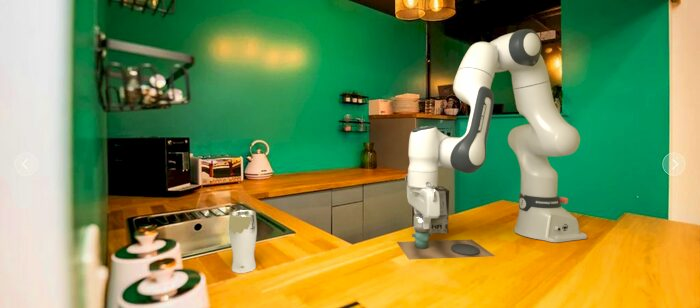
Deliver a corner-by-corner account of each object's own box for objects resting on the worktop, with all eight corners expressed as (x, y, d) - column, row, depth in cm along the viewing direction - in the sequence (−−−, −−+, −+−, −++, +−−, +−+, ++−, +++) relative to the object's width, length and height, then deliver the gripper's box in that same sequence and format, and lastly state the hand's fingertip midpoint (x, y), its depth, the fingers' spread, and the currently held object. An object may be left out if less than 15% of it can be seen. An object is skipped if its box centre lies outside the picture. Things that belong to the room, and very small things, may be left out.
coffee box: (448, 236, 112) (449, 190, 111) (430, 236, 113) (431, 190, 111) (441, 228, 121) (442, 185, 120) (424, 228, 122) (425, 185, 120)
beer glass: (242, 276, 81) (240, 217, 80) (224, 270, 85) (222, 213, 84) (263, 266, 87) (262, 211, 86) (245, 261, 91) (244, 208, 90)
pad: (471, 245, 101) (471, 243, 100) (484, 255, 93) (485, 253, 93) (446, 246, 100) (446, 244, 100) (458, 256, 92) (458, 254, 92)
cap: (427, 226, 101) (427, 211, 101) (432, 231, 96) (433, 216, 96) (411, 227, 101) (411, 212, 100) (416, 232, 96) (416, 216, 95)
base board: (471, 243, 106) (472, 223, 105) (495, 260, 92) (495, 237, 91) (396, 245, 103) (396, 225, 103) (408, 263, 89) (409, 240, 89)
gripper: (446, 185, 87) (445, 236, 88) (422, 175, 108) (421, 216, 109) (423, 186, 87) (422, 236, 88) (403, 175, 107) (403, 216, 108)
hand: (421, 225), depth 98 cm, fingers open, 5 cm apart
